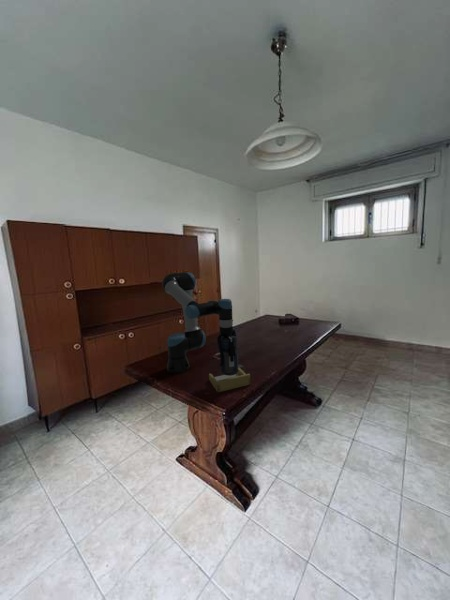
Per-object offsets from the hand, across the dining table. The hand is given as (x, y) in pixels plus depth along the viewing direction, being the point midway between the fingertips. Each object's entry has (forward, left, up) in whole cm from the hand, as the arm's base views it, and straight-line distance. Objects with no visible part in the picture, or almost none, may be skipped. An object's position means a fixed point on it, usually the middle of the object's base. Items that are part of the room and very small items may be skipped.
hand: (228, 363), depth 145 cm
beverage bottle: (0, 0, -6) cm, 6 cm away
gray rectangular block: (+11, +11, -12) cm, 20 cm away
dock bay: (0, 0, -12) cm, 12 cm away
